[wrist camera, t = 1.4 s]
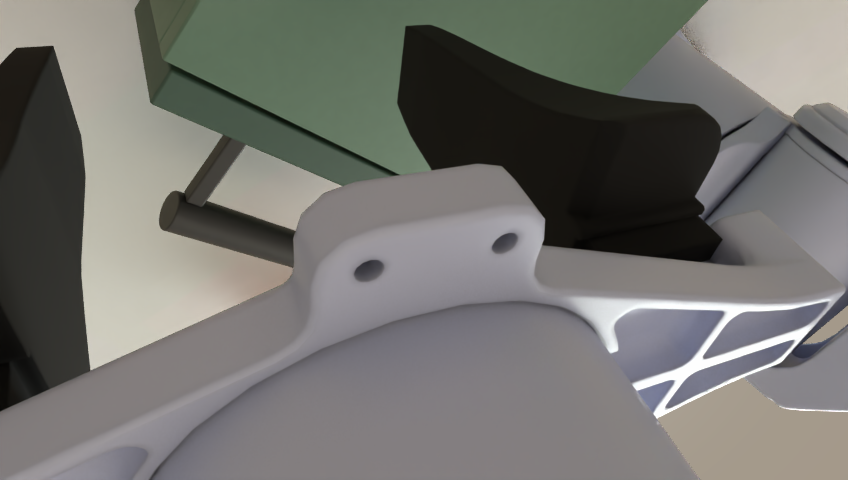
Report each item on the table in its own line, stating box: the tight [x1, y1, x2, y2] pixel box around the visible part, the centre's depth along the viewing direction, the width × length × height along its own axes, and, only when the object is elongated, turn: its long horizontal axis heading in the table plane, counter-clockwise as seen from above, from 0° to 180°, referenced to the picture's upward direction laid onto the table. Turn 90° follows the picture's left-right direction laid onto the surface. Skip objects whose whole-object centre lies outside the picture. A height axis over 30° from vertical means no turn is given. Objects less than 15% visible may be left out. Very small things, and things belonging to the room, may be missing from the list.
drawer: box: [135, 0, 399, 268], centre depth 21 cm, size 17×12×6 cm
